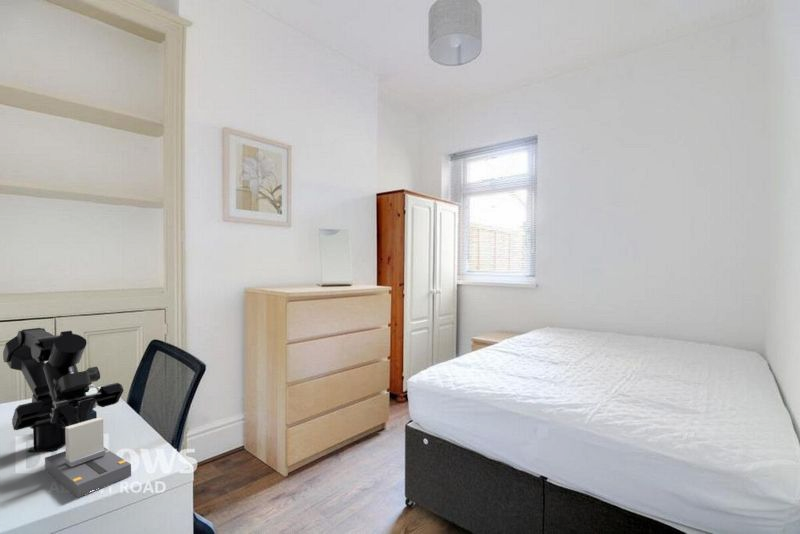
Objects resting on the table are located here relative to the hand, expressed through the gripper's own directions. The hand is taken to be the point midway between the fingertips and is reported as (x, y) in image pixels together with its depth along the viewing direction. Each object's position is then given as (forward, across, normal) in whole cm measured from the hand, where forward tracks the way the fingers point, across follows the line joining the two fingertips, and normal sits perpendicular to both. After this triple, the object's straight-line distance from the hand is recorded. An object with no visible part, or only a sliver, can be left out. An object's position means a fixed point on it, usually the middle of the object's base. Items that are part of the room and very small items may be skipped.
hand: (81, 436), depth 82 cm
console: (+7, 0, +3) cm, 8 cm away
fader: (+4, 0, +2) cm, 5 cm away
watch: (-17, +9, +27) cm, 33 cm away
